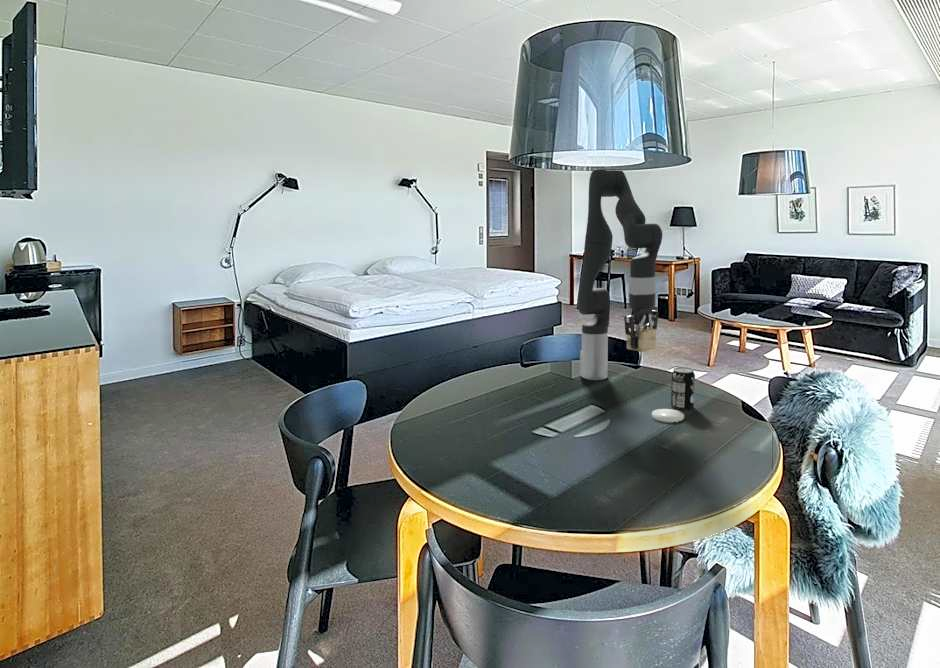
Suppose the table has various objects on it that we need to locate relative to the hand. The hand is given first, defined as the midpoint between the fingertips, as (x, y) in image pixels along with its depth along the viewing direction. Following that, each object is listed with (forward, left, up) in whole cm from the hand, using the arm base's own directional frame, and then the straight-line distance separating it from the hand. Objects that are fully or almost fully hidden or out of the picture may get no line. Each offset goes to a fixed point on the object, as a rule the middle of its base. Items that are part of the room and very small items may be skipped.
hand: (641, 346), depth 168 cm
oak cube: (0, 0, -1) cm, 1 cm away
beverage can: (+9, +10, -20) cm, 24 cm away
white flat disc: (+11, -1, -20) cm, 22 cm away
